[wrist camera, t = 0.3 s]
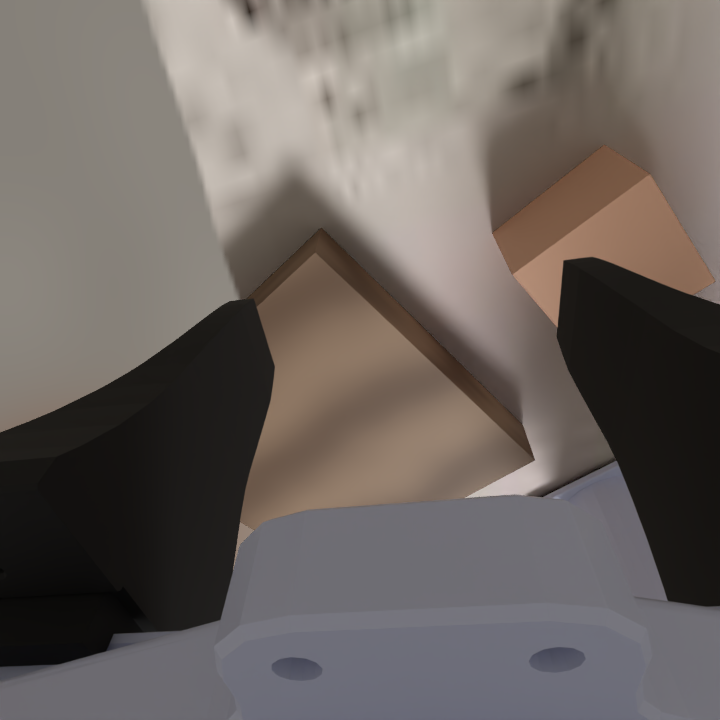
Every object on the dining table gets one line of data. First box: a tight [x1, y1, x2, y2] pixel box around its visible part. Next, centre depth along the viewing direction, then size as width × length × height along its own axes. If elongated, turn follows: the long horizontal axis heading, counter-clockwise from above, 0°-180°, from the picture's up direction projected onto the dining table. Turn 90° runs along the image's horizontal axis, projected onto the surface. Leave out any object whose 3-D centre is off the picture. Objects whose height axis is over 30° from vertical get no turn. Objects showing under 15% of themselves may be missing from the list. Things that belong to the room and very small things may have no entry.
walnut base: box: [240, 228, 535, 530], centre depth 26 cm, size 15×15×2 cm
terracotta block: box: [492, 145, 715, 327], centre depth 19 cm, size 5×5×4 cm
